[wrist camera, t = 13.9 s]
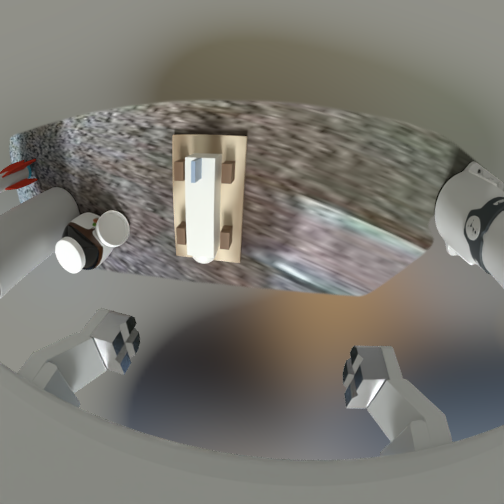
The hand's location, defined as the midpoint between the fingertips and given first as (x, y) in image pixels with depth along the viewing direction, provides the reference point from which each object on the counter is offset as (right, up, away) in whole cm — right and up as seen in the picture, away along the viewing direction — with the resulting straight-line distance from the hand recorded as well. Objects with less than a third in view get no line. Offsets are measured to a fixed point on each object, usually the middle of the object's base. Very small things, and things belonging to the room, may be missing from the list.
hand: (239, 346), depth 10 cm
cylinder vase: (-42, +12, +42) cm, 60 cm away
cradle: (-7, +12, +37) cm, 39 cm away
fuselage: (-7, +11, +36) cm, 39 cm away
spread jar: (-29, +9, +42) cm, 52 cm away
